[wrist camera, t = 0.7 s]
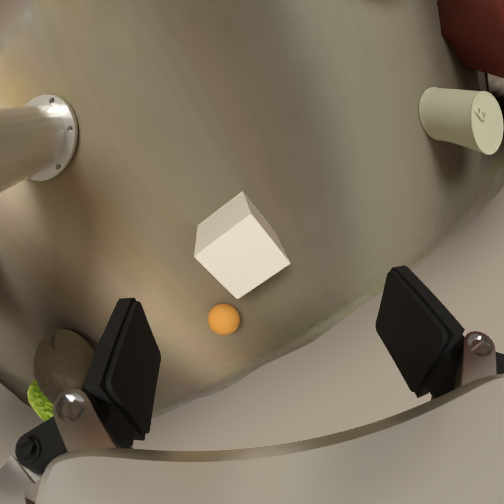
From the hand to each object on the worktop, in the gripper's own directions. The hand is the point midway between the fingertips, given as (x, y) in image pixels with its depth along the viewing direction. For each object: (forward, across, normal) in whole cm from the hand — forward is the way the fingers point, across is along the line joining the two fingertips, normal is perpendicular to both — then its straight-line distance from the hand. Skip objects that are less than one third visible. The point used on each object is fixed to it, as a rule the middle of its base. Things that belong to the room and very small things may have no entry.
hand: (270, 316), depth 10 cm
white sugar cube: (+28, +1, +8) cm, 29 cm away
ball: (+26, +4, +22) cm, 34 cm away
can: (+29, -33, -9) cm, 45 cm away
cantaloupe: (+28, +35, +28) cm, 52 cm away
